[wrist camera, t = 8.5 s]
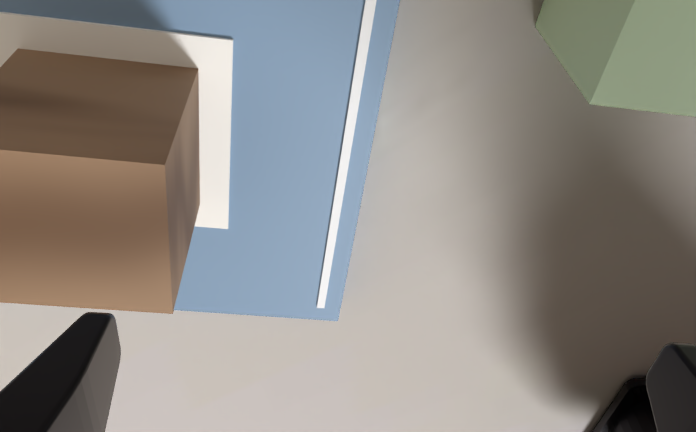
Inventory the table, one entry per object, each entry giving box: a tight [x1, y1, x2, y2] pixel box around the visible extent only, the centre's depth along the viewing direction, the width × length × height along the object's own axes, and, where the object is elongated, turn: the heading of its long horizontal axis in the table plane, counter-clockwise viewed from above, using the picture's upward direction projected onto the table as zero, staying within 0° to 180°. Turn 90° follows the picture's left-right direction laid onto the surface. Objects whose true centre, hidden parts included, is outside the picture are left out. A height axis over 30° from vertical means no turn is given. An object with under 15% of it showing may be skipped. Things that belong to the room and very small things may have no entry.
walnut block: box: [0, 48, 200, 314], centre depth 17 cm, size 5×5×5 cm
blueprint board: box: [0, 0, 400, 321], centre depth 20 cm, size 16×16×1 cm
